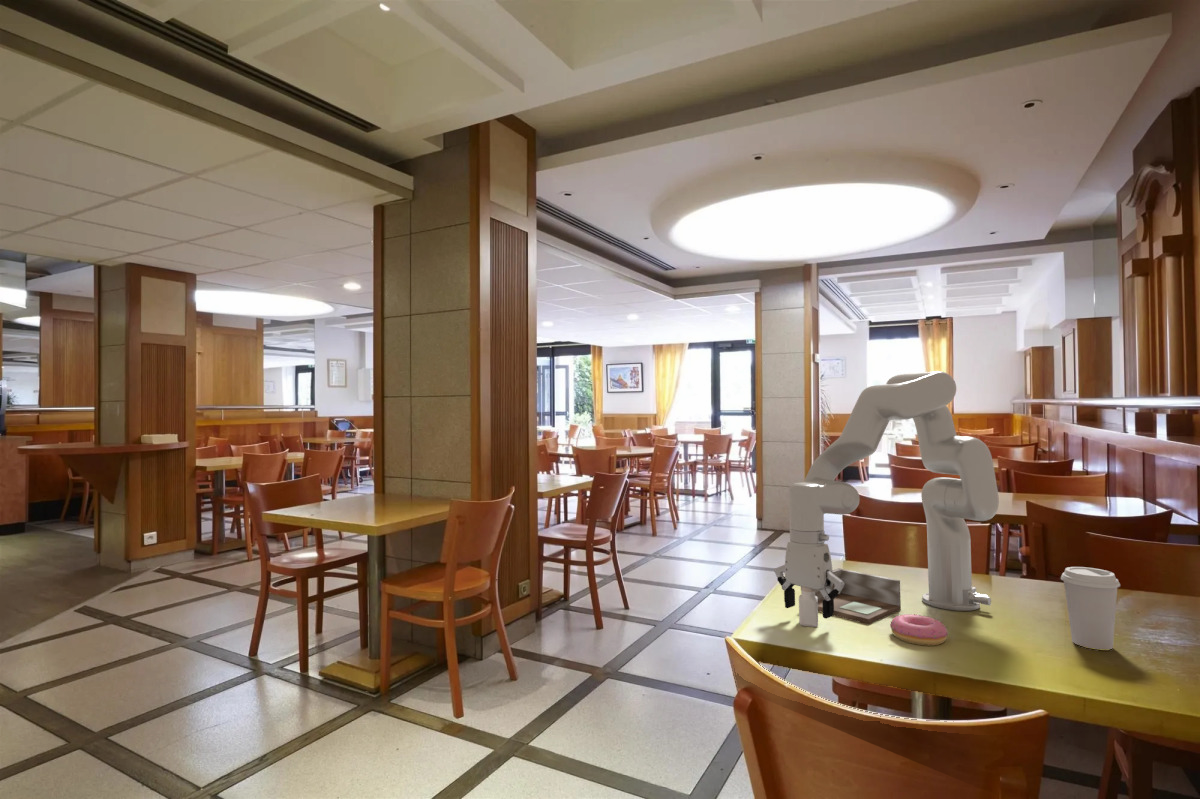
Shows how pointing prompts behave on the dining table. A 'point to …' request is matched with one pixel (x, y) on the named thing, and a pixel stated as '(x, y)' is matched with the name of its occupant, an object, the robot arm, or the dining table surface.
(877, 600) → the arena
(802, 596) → the salt shaker
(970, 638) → the dining table surface
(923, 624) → the doughnut
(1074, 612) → the coffee cup
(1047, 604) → the dining table surface
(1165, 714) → the dining table surface
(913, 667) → the dining table surface
